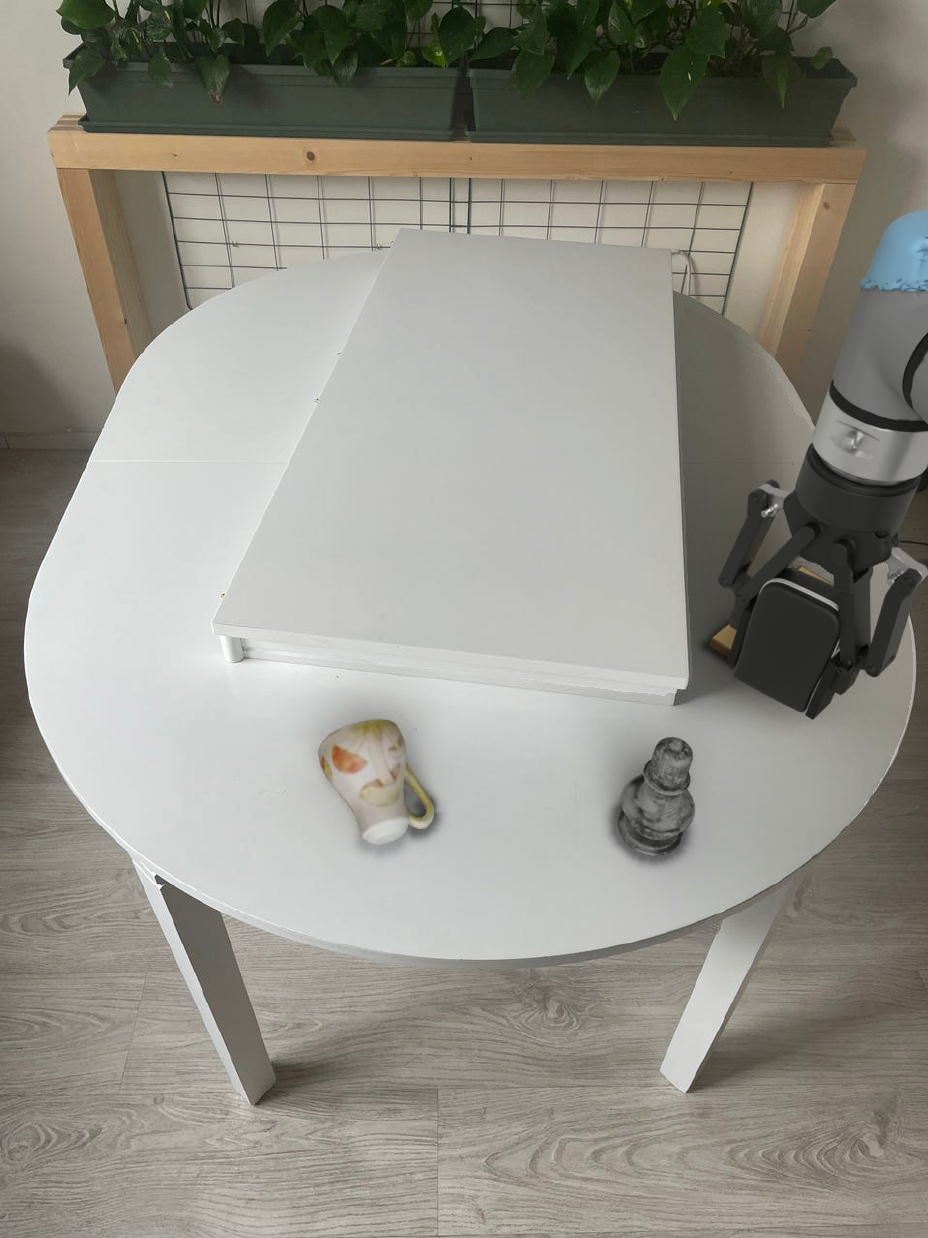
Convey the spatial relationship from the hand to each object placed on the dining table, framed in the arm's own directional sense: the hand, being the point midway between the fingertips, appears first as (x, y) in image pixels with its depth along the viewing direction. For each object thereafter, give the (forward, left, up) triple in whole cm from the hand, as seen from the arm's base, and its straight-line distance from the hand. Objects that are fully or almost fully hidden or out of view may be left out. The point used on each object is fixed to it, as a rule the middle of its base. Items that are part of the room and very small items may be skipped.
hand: (777, 682), depth 78 cm
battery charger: (0, 0, 0) cm, 0 cm away
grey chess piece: (0, +15, -7) cm, 16 cm away
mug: (+17, +30, -7) cm, 35 cm away
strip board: (+6, -14, -7) cm, 17 cm away
